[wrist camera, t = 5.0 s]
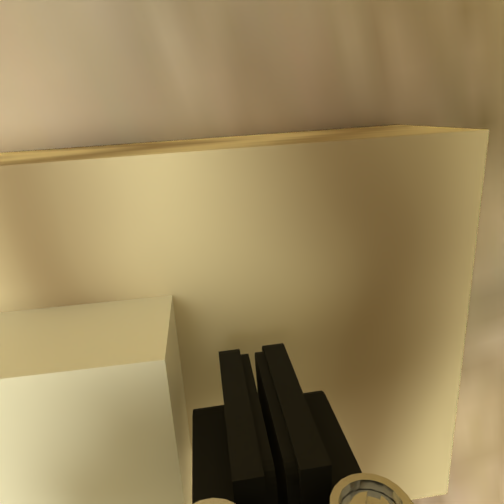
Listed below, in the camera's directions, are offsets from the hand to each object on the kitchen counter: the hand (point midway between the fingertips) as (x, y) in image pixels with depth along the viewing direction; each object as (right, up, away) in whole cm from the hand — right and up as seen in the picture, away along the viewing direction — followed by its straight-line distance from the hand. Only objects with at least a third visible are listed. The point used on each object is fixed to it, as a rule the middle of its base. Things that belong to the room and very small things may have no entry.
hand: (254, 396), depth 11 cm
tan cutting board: (-4, +2, +5) cm, 7 cm away
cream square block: (-4, 0, +1) cm, 4 cm away
